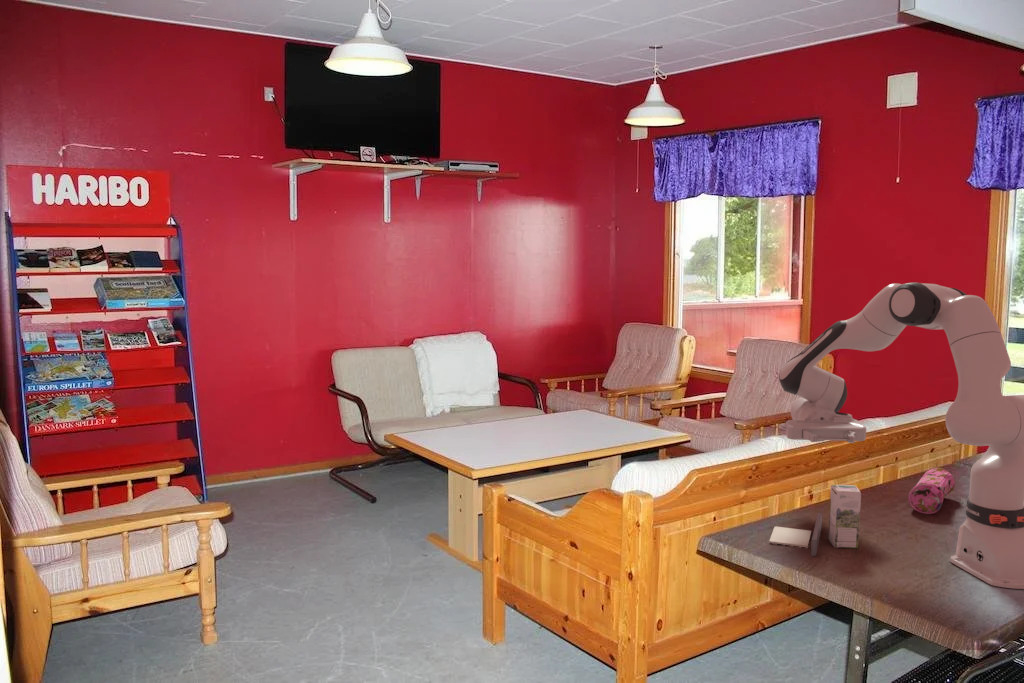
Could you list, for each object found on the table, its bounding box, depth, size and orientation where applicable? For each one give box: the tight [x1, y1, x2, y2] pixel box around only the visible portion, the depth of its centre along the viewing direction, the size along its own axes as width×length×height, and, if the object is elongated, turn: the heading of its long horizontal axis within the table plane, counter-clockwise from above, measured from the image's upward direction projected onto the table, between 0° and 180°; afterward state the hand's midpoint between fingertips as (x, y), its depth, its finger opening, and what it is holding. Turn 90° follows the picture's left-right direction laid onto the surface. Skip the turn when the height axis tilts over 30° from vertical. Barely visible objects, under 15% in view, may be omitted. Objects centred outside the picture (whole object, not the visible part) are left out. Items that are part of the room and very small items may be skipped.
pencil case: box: [907, 467, 956, 515], centre depth 243 cm, size 21×9×9 cm, turn 145°
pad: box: [768, 525, 812, 549], centre depth 217 cm, size 9×12×1 cm
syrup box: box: [828, 484, 862, 549], centre depth 211 cm, size 6×6×14 cm
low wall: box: [810, 512, 823, 557], centre depth 214 cm, size 1×22×4 cm, turn 157°
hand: (833, 439), depth 222 cm, fingers open, 8 cm apart
